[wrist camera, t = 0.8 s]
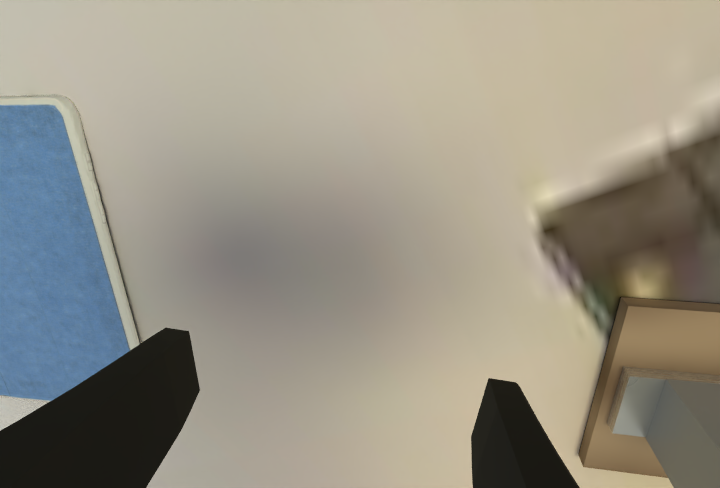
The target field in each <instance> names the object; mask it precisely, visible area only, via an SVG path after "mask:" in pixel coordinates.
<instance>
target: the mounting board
mask: <svg viewBox="0 0 720 488" xmlns="http://www.w3.org/2000/svg"><path fill="white" fill-rule="evenodd" d="M623 366H625V367H636V368H647V369H658V370H668V371H679V372H690V373H701V374H711V375H720V304H712V303H698V302H684V301H669V300H655V299H641V298H626V297H621V299H620V303H619V307H618V310H617V314H616V318H615V321H614V325H613V329H612V333H611V336H610V340H609V344H608V347H607V351H606V355H605V359H604V362H603V366H602V370H601V373H600V377H599V381H598V384H597V388H596V392H595V396H594V399H593V403H592V407H591V410H590V414H589V418H588V422H587V425H586V429H585V433H584V436H583V440H582V444H581V447H580V451H579V457H580V459H581V462H582V465H583V467H588V468H596V469H603V470H611V471H619V472H627V473H634V474H642V475H650V476H658V477H665V478H668V476H667V475H666V473H665V471H664V469H663V468H662V466H661V464H660V463H659V461H658V459H657V457H656V456H655V454H654V452H653V450H652V449H651V447H650V445H649V443H648V442H647V440H646V437H640V436H631V435H622V434H614V433H612V432H611V430H610V428H609V426H608V424H607V420H608V417H609V413H610V410H611V406H612V403H613V400H614V396H615V393H616V389H617V386H618V383H619V379H620V376H621V372H622V369H623Z"/></svg>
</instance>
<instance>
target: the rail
mask: <svg viewBox="0 0 720 488" xmlns="http://www.w3.org/2000/svg"><path fill="white" fill-rule="evenodd" d="M666 379H673V380H683V381H694V382H704V383H715V384H720V375H711V374H701V373H690V372H679V371H668V370H658V369H647V368H636V367H625V366H623V369H622V372H621V376H620V379H619V383H618V386H617V389H616V393H615V396H614V400H613V403H612V406H611V410H610V413H609V417H608V420H607V424H608V426H609V428H610V430H611V432H612V433H614V434H622V435H631V436H640V437H646V435H647V432H648V429H649V426H650V423H651V420H652V417H653V415H654V412H655V409H656V406H657V403H658V400H659V397H660V394H661V392H662V389H663V386H664V383H665V380H666Z"/></svg>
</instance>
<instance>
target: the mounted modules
mask: <svg viewBox="0 0 720 488" xmlns="http://www.w3.org/2000/svg"><path fill="white" fill-rule="evenodd" d="M646 440H647V442H648V443H649V445H650V447H651V449H652V450H653V452H654V454H655V456H656V457H657V459H658V461H659V463H660V464H661V466H662V468H663V469H664V471H665V473H666V475H667V476H668V478H669V480H670V482H671V483H672V485H673V487H674V488H720V384H715V383H704V382H694V381H683V380H673V379H666V380H665V383H664V386H663V389H662V392H661V394H660V397H659V400H658V403H657V406H656V409H655V412H654V415H653V417H652V420H651V423H650V426H649V429H648V432H647V435H646Z"/></svg>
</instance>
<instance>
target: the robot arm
mask: <svg viewBox="0 0 720 488" xmlns="http://www.w3.org/2000/svg"><path fill="white" fill-rule="evenodd" d="M199 391H200V388H199V383H198V378H197V372H196V367H195V362H194V356H193V351H192V345H191V340H190V335H189V331H183V330H177V329H170V328H164V329H163V330H161V331H160V332H158V333H156V334H155V335H153V336H152V337H150V338H149V339H147V340H145V341H144V342H142V343H141V344H139V345H138V346H136V347H135V348H133V349H132V350H130V351H129V352H127V353H126V354H124V355H123V356H121V357H120V358H118V359H117V360H115V361H114V362H112V363H111V364H109V365H108V366H106V367H104V368H103V369H101V370H100V371H98V372H97V373H95V374H94V375H92V376H91V377H89V378H87V379H86V380H84V381H83V382H81V383H80V384H78V385H77V386H75V387H73V388H72V389H70V390H69V391H67V392H65V393H64V394H62V395H60V396H59V397H57V398H55V399H54V400H52V401H50V402H49V403H47V404H45V405H44V406H42V407H40V408H39V409H37V410H35V411H34V412H32V413H30V414H29V415H27V416H25V417H24V418H22V419H20V420H19V421H17V422H15V423H13V424H12V425H10V426H8V427H6V428H4V429H3V430H1V431H0V488H146V487H147V485H148V483H149V482H150V480H151V479H152V477H153V475H154V474H155V472H156V471H157V469H158V467H159V466H160V464H161V463H162V461H163V459H164V458H165V456H166V454H167V453H168V451H169V449H170V448H171V446H172V445H173V443H174V441H175V440H176V438H177V436H178V435H179V433H180V431H181V429H182V427H183V425H184V423H185V421H186V419H187V417H188V415H189V413H190V411H191V409H192V406H193V404H194V402H195V400H196V397H197V395H198V393H199ZM471 444H472V480H473V488H579V486H578V485H577V483H576V482H575V480H574V478H573V477H572V475H571V474H570V472H569V470H568V469H567V467H566V466H565V464H564V463H563V461H562V459H561V458H560V456H559V455H558V453H557V451H556V450H555V448H554V446H553V445H552V443H551V441H550V440H549V438H548V436H547V434H546V433H545V431H544V429H543V428H542V426H541V424H540V422H539V421H538V419H537V417H536V415H535V414H534V412H533V410H532V408H531V406H530V405H529V403H528V401H527V399H526V397H525V396H524V394H523V392H522V390H521V388H520V387H519V385H518V384H517V383H516V382H509V381H503V380H497V379H490V378H489V379H488V382H487V386H486V389H485V392H484V396H483V399H482V402H481V406H480V409H479V412H478V416H477V419H476V423H475V426H474V429H473V433H472V436H471Z"/></svg>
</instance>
